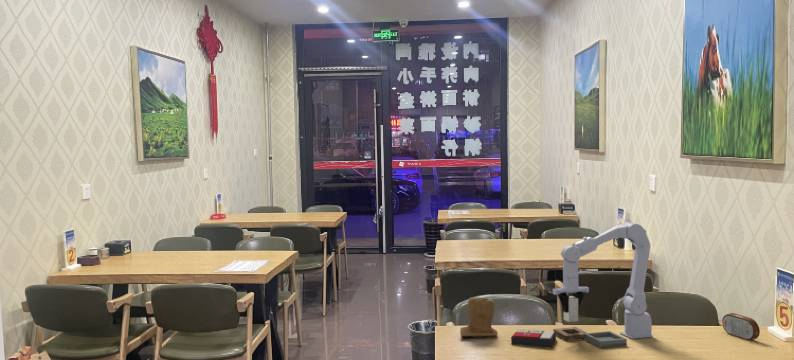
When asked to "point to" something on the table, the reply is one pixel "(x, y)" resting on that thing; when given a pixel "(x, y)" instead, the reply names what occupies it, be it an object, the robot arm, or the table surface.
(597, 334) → the tray
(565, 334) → the brown square frame
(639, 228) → the robot arm
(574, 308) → the lock pin
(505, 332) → the table surface
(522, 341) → the red black box
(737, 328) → the oval speaker
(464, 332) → the brown wooden stand
